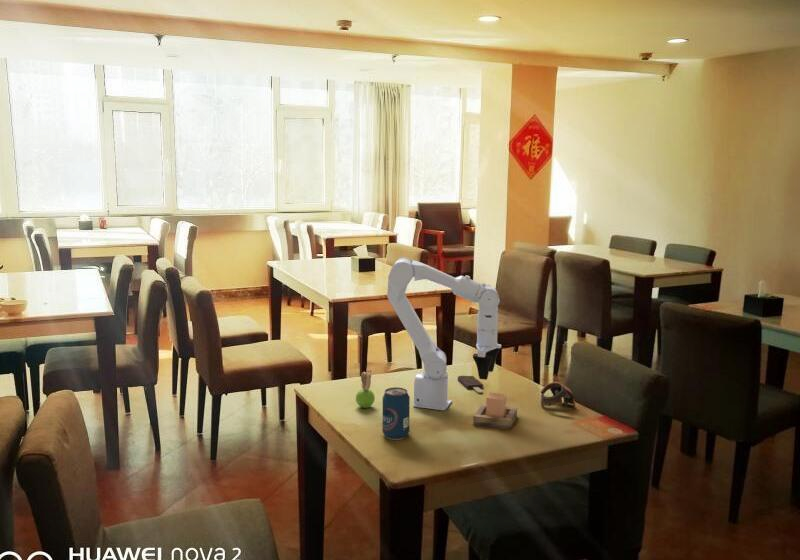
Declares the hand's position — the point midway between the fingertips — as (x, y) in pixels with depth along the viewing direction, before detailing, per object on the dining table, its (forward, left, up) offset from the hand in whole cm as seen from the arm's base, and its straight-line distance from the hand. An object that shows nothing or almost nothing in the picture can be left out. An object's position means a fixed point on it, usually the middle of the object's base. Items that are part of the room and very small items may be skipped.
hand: (486, 375), depth 193 cm
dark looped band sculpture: (+20, +8, -10) cm, 23 cm away
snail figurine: (-32, -13, -10) cm, 36 cm away
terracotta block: (+5, -10, -8) cm, 14 cm away
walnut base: (+5, -10, -9) cm, 15 cm away
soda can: (-17, -29, -10) cm, 35 cm away
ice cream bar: (-8, +16, -10) cm, 21 cm away
